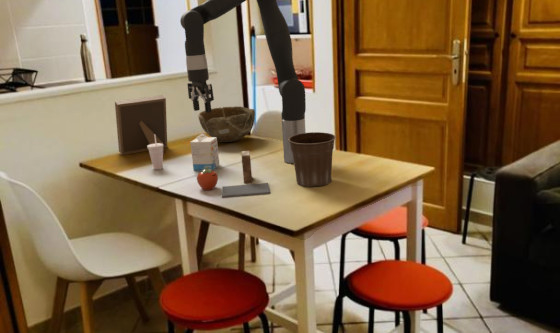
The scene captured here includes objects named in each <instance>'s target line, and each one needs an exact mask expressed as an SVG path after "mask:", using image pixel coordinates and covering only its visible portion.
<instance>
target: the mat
mask: <svg viewBox="0 0 560 333" xmlns="http://www.w3.org/2000/svg"><path fill="white" fill-rule="evenodd" d="M269 194H271V191H270V185H269V182H260V183H249V184H248V183H246V184H239V185H238V184H237V185H236V184H235V185H228V186H226V185H224V186H222V190H221V198H223V199H224V198H233V197H244V196H259V195H269Z"/></svg>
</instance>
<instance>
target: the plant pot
mask: <svg viewBox="0 0 560 333" xmlns="http://www.w3.org/2000/svg"><path fill="white" fill-rule="evenodd" d="M336 138H337V137H336V135H335V134H332V133H330V132H319V131H318V132H316V131H315V132H314V131H313V132H306V133H301V134H297V135H293V136H291V137H289V139H288V141H289V142H290V146H291V151H292V153H293V160H294V163H293V164H294V171H295V178H296V183H297V184H298V185H299V186H301V187H306V188H307V187H308V188H313V187H323V186H327V185H329V184H330V183H331V182H332V169H333V150H334V147H335V140H336Z"/></svg>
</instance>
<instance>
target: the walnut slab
mask: <svg viewBox="0 0 560 333" xmlns="http://www.w3.org/2000/svg"><path fill="white" fill-rule="evenodd" d="M251 162H252V160H251V152H250V150H243V151H242V150H241V164H242V166H241V167H242V175H243V184H248V183H249V184H252V183H253V175H252V163H251Z"/></svg>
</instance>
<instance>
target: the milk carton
mask: <svg viewBox="0 0 560 333" xmlns="http://www.w3.org/2000/svg"><path fill="white" fill-rule="evenodd" d="M189 143H190V148H191V150H190V151H191V161H192V169H193V171H202V170H204V169H205V167H208V169H212V171H214V170H215V169H217V168H218V167H219V166H220V158H219V157H220V156H219V146H218V141H217V137H211V136H207V135H206V134H205V133H201V134H199V135H197V136H196V137H195V139H193V140H191V141H190V142H189Z"/></svg>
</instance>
